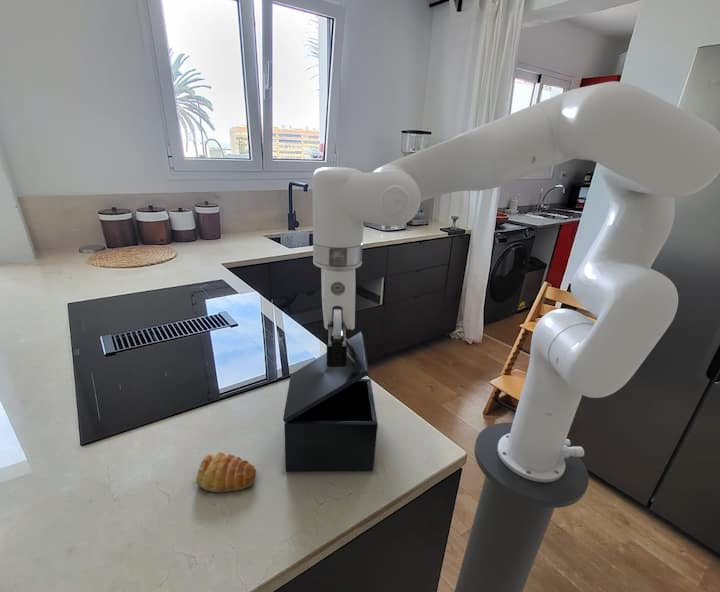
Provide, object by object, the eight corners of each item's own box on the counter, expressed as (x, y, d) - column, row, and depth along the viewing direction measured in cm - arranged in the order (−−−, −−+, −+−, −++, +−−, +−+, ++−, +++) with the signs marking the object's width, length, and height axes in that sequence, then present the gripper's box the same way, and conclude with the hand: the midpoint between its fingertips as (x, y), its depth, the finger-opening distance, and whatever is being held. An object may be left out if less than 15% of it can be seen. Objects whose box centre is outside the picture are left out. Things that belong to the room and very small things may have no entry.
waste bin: (367, 421, 83) (370, 378, 78) (373, 471, 71) (377, 424, 66) (292, 421, 82) (291, 377, 77) (285, 472, 69) (284, 423, 65)
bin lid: (363, 334, 74) (344, 309, 71) (369, 374, 62) (347, 346, 59) (293, 377, 77) (273, 355, 75) (285, 423, 65) (261, 398, 62)
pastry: (261, 466, 70) (260, 450, 68) (249, 498, 64) (247, 481, 62) (209, 461, 70) (207, 445, 69) (193, 492, 64) (190, 476, 63)
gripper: (366, 272, 52) (361, 384, 60) (358, 240, 68) (355, 332, 76) (310, 271, 52) (312, 384, 60) (315, 239, 67) (316, 332, 75)
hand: (336, 354), depth 68 cm, fingers closed on bin lid, 6 cm apart
